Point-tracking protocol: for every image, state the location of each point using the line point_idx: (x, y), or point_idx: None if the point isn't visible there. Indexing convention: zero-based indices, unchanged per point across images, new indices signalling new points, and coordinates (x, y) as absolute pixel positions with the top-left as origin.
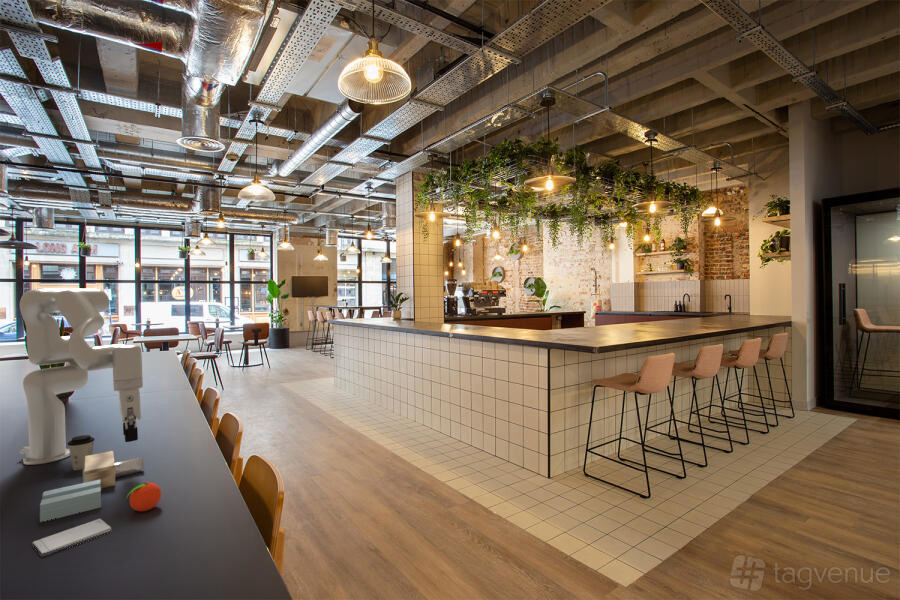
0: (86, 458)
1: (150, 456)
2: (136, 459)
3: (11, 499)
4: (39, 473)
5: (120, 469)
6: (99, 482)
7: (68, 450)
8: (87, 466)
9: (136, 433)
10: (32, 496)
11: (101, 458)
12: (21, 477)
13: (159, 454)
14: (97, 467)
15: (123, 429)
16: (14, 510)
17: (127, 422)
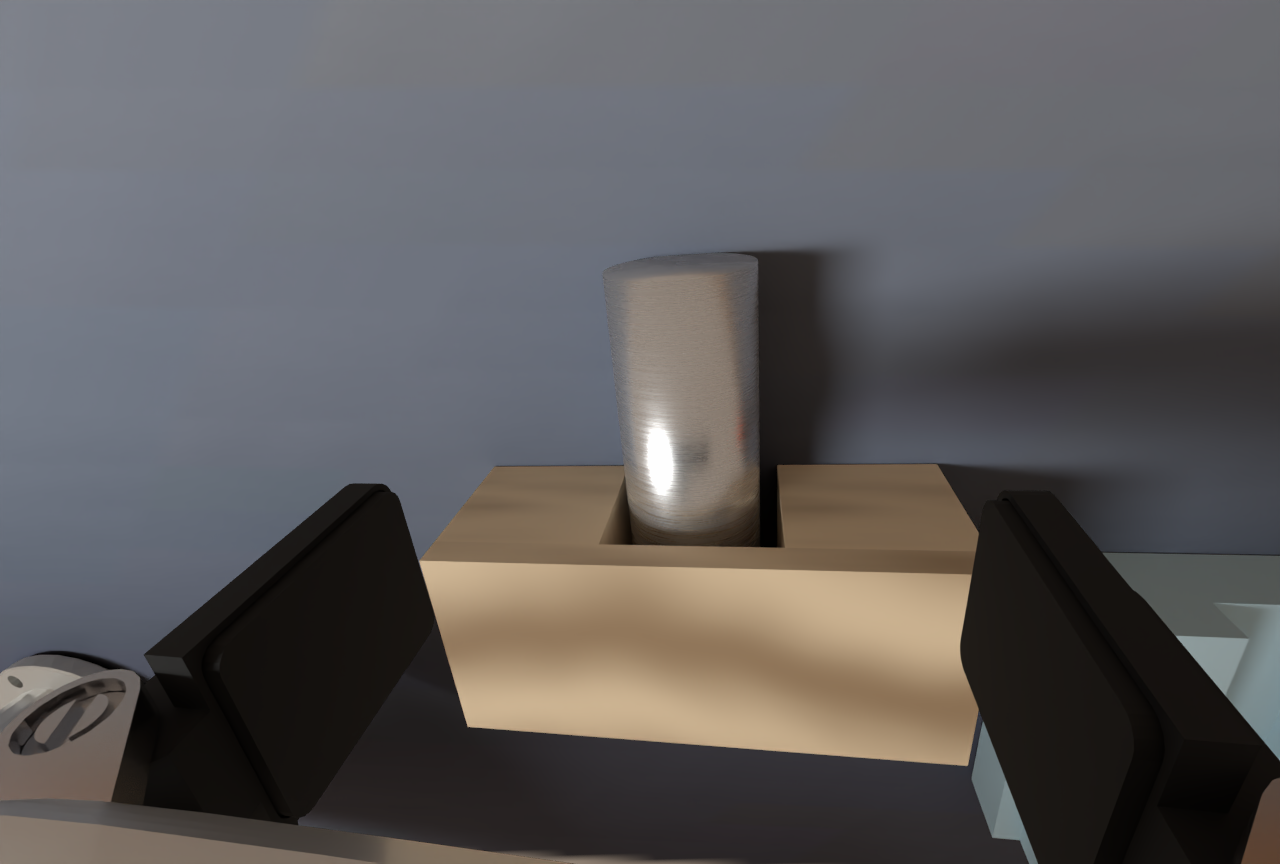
0: (548, 726)
1: (280, 188)
2: (694, 345)
3: (724, 856)
4: (359, 766)
5: (757, 459)
6: (1212, 643)
7: (26, 678)
8: (821, 740)
9: (1128, 607)
10: (750, 803)
11: (633, 648)
12: (387, 816)
13: (247, 97)
14: (931, 690)
15: (373, 707)
16: (924, 858)
17: (251, 782)
